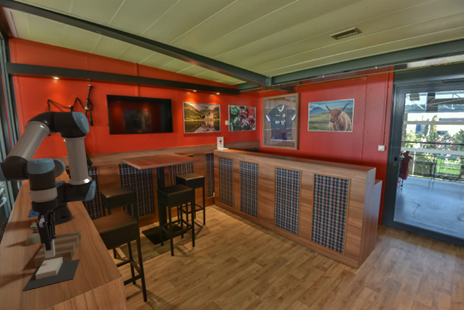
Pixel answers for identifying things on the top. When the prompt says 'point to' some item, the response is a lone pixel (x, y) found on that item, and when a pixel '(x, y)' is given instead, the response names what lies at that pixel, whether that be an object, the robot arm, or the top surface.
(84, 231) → the top surface
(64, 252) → the brown wooden flat slab
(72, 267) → the mat
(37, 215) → the handheld gaming device
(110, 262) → the top surface
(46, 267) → the block
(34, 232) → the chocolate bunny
